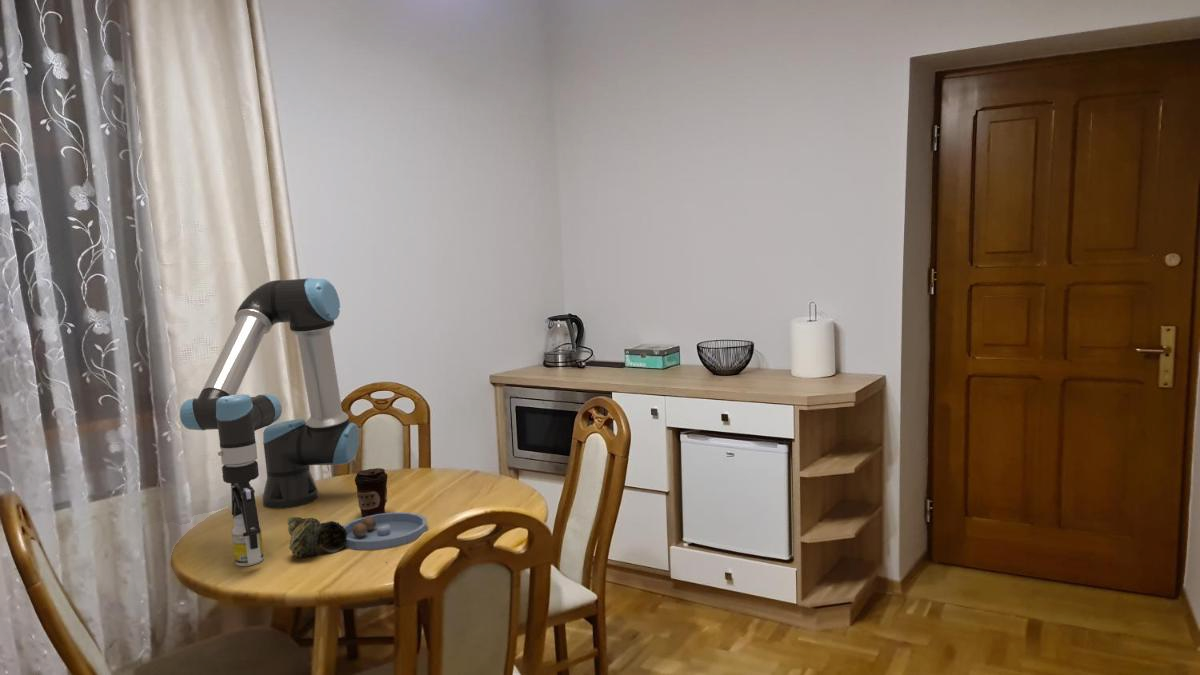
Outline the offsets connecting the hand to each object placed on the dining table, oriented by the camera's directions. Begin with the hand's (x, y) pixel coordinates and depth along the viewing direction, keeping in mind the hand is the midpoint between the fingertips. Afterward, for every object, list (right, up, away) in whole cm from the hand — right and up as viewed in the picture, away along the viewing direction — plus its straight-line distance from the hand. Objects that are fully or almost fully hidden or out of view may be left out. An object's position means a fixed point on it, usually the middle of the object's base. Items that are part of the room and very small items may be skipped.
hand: (248, 554), depth 185 cm
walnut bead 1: (+23, +1, +11) cm, 25 cm away
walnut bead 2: (+24, +2, +15) cm, 28 cm away
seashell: (+16, -1, +1) cm, 16 cm away
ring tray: (+28, +1, +12) cm, 31 cm away
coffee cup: (+21, +2, +27) cm, 35 cm away
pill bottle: (0, -2, 0) cm, 2 cm away
